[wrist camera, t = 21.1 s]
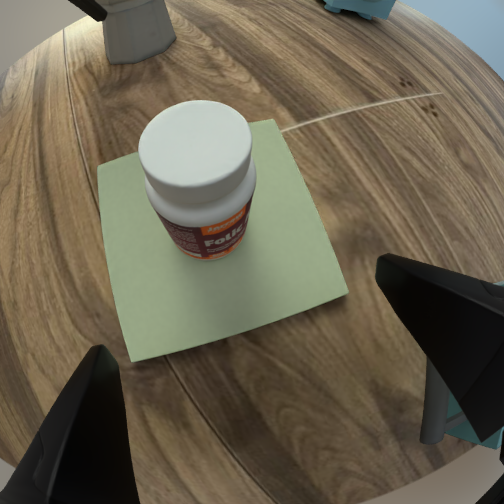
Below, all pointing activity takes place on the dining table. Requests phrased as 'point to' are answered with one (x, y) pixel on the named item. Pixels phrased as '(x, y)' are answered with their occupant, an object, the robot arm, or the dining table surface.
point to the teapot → (362, 7)
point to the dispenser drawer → (447, 414)
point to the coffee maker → (131, 27)
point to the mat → (215, 271)
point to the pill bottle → (200, 176)
